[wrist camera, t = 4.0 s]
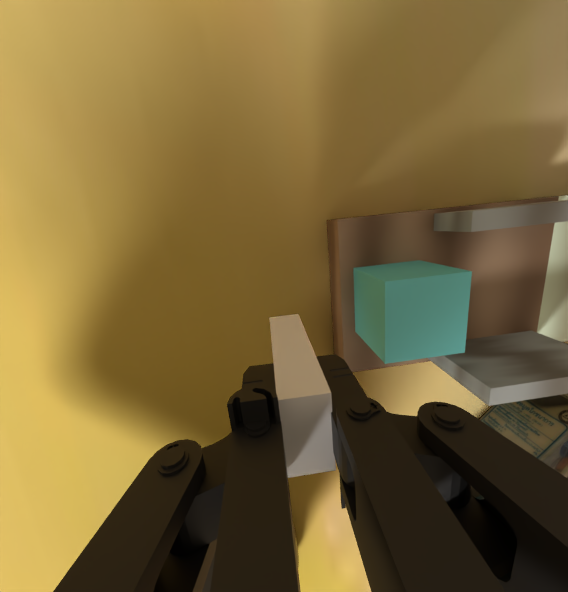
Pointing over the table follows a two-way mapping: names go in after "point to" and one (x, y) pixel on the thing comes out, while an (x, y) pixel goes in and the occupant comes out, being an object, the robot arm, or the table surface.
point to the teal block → (412, 309)
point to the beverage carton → (535, 427)
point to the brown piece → (472, 289)
